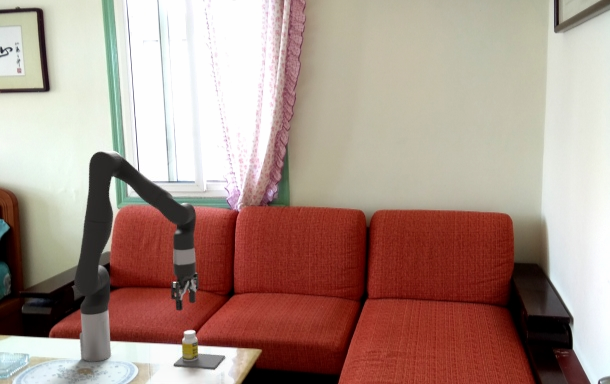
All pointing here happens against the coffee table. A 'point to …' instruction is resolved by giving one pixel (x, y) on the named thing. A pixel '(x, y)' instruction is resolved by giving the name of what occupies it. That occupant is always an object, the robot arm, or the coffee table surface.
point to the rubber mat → (201, 361)
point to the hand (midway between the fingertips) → (186, 306)
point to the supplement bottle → (190, 346)
